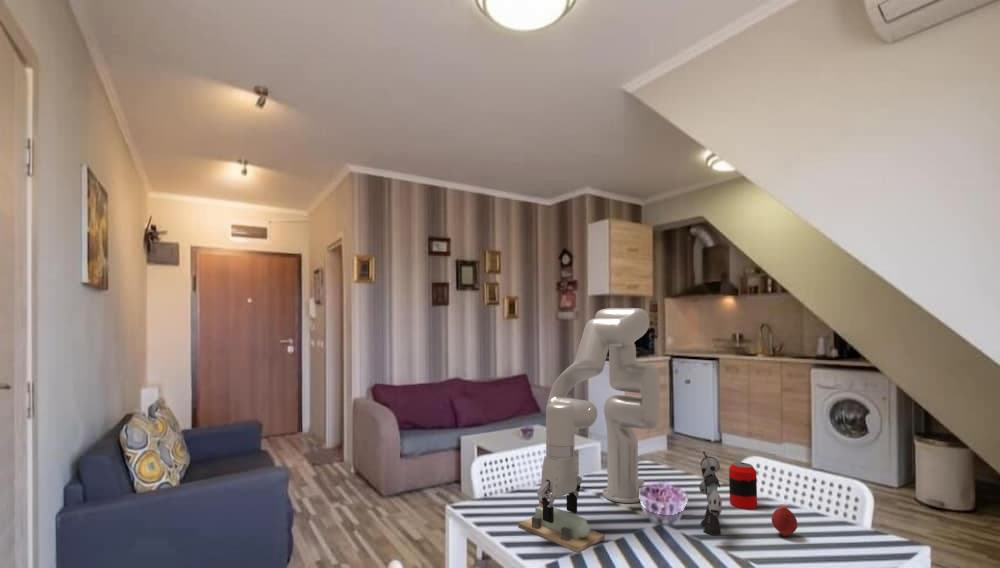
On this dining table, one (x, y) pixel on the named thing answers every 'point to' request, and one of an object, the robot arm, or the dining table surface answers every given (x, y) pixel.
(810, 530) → the dining table surface
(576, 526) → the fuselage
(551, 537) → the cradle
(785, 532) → the onion
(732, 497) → the soda can
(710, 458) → the robot
